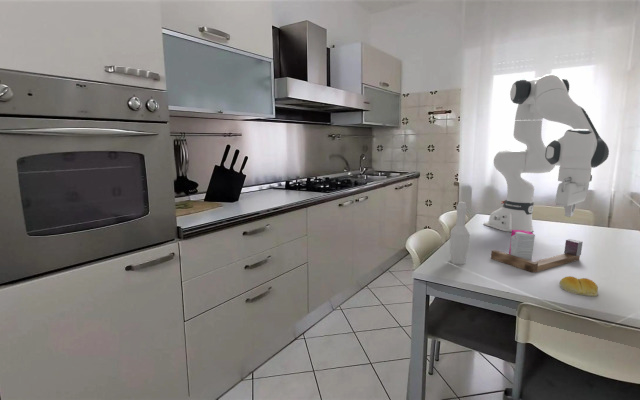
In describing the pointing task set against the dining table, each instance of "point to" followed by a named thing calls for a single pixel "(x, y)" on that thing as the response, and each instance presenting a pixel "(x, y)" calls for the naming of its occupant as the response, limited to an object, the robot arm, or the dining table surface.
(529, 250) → the supplement box
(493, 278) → the dining table surface
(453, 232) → the faceted bottle
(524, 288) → the dining table surface
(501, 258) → the l-shaped wooden bracket
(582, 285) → the bread roll
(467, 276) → the dining table surface
